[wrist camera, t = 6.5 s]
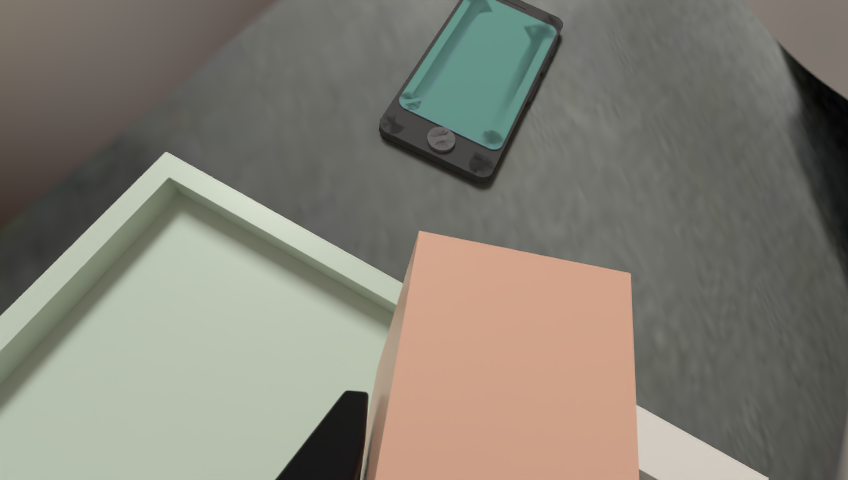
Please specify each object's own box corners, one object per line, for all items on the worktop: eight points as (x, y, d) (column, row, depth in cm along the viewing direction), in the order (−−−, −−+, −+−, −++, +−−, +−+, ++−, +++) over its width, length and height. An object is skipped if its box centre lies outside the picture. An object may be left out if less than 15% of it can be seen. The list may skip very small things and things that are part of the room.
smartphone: (375, 124, 26) (474, -24, 32) (374, 137, 27) (470, -8, 33) (492, 180, 25) (569, 19, 31) (486, 191, 26) (562, 33, 33)
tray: (200, 915, 14) (171, 1008, 11) (-230, 615, 15) (-333, 647, 13) (472, 341, 22) (486, 330, 20) (184, 179, 23) (166, 151, 21)
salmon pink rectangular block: (428, 558, 13) (659, 942, 3) (342, 545, 13) (301, 901, 3) (450, 382, 15) (631, 272, 5) (377, 368, 15) (419, 231, 5)
